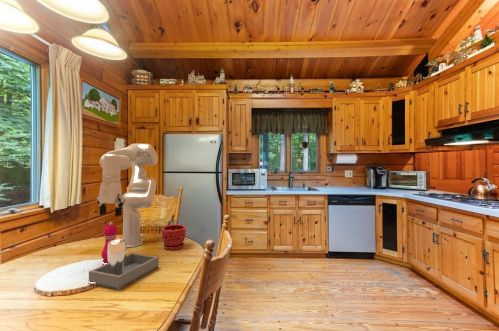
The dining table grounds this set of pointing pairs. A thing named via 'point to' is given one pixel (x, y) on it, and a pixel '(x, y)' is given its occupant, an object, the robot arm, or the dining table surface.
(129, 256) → the tote
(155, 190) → the robot arm
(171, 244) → the plant pot
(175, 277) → the dining table surface
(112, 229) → the pepper mill
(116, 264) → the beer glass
